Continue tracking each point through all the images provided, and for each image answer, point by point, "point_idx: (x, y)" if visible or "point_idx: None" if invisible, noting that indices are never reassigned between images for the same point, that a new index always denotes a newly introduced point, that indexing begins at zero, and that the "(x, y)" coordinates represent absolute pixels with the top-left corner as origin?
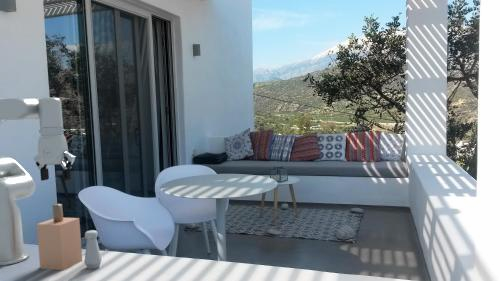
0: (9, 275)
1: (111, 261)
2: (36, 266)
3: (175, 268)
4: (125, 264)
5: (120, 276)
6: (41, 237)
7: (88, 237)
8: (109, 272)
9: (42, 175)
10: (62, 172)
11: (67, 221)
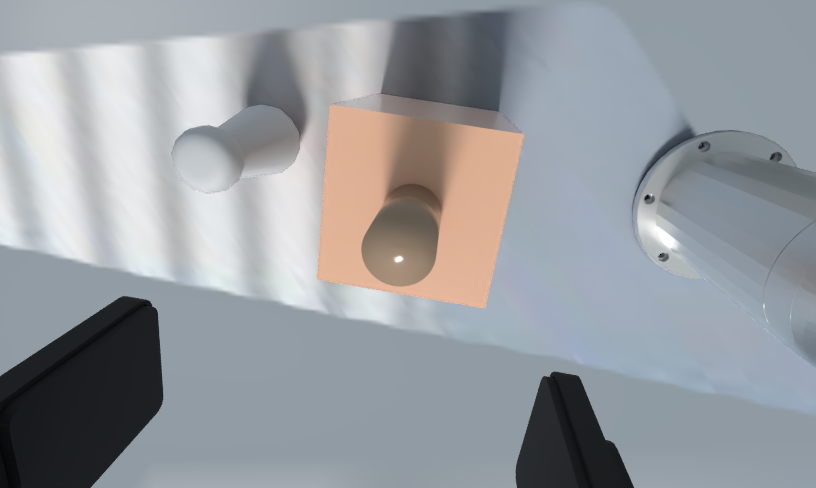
0: (592, 14)
1: (245, 202)
2: (530, 133)
3: None
4: (172, 173)
5: (109, 45)
6: (485, 120)
7: (204, 126)
8: (177, 84)
9: (560, 428)
10: (54, 379)
11: (341, 202)
